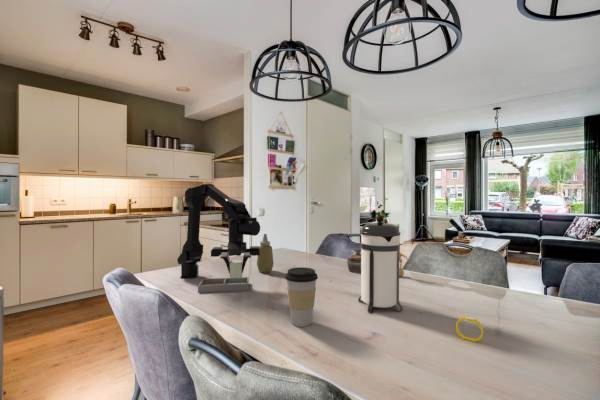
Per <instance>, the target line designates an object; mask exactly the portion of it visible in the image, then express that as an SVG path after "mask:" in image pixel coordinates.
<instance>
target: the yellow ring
mask: <svg viewBox="0 0 600 400" xmlns="http://www.w3.org/2000/svg"><path fill="white" fill-rule="evenodd" d="M462 321H467V322H469V323H470V322H471V323H475V324H476V325H478V328H479V329H480V335H479V337H475V338H473V337H469V336H465V335H464V334H463V333H462V332H461V330H460V328H459V323H460V322H462ZM455 330H456V333H457V335H458V336H459V337H460V338H461V339H463V340H466V341H469V342H472V343H473V342H474V343H477V342H479V341H481V339H482V338H483V336H484V327H483V326H482V323H481V322H480V321H479V320H477V318H476V317H475V316H474V315H472V314H464V315H463V316H462V317H460V318H459V319H458V320H457V321H456V324H455Z"/></svg>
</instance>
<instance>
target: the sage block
mask: <svg viewBox="0 0 600 400" xmlns="http://www.w3.org/2000/svg"><path fill="white" fill-rule="evenodd" d="M242 263H243V259H241V260H240V259H239V260H234V259H233V260H230V273H229V278H242V277H243V273H242Z"/></svg>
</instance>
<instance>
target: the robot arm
mask: <svg viewBox="0 0 600 400" xmlns="http://www.w3.org/2000/svg"><path fill="white" fill-rule="evenodd" d="M184 192H185V193H184V200H185V203H186V206H187V207H188V215H187V235H186V238H187V239H186V241H185V242H184V244H183V246H182V248H181V249H182V250H181V253H180V254H179V256H178V258H177V264H178V265H180V266H181V269H180V270H181V271H180V272H181V273H180V276H179V277H180V279H191V278H194V279H195V278H197V276H198V275H199V272H200V271H199V264H198V262H201V260H202V256H203V254H204V244H203V243H202V242H201V241H200V228H201V226H200V225H201V212H202V210H201V209H202V207H203V205H204V204H205V202H206V198H208V197H209V198H210V199H212V201H215V203H217V204H218V205H219V206H221V208H222V211H223V212H224V213H225V215H226V216H227V218H225V220H224V222H225V223H228V243H227V248H224V247H223V246H214V247H213V248H212V249H211V250H210V257H214V258H215V257H217V258H218V257H219V258H220V259H221V260H222V259H223V261H224V262H225V266H226V268H227V270H228V273H229V274H230V261H231V258H230V257H232V256H233V257H234V256H237V257H240V256H241V255H242V254H243V256H242V274H243V273H244V270H245V267H246V264H247V261H248V259H249V258H251V257H252V256H257V257H258V255H260V247H259V246H260V245H258V246H257V245H253V246H249V248H247V241H244V236H245V235H247V236H257V235H259V234H260V231H261V225H260V223H259V221H258V219H257V217H252V216H251V214H250V213H249V211H248V209H247V207H246V204H245V203H244V202H243V201H241V200H238V199H235V198H232V197H230V196H228V195H227V194H226V193H224V192H223V191H221V190H220V189H219V188H217V186H215V184H213V183H203V184H200V185H198V186H194V187H189V188H186V190H185V191H184Z"/></svg>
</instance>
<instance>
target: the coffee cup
mask: <svg viewBox="0 0 600 400" xmlns="http://www.w3.org/2000/svg"><path fill="white" fill-rule="evenodd" d="M284 278H285V280H286V281H287V282H286V283H287V289H286V290H287V297H288V306H289V312H290V313H289V314H290V321H291V324H292V325H293V326H295V327H300V328H301V327H302V328H303V327H308V326H310V325H312V323H313V322H312V321H313V312H314V307H315V299H316V285H317V284H316V283H317V282H316V281H317V280H318V279H319V278H318V274H317V273H316V270H315V269H314V268H310V267H292V268H289V269H288V270H287V273H285V276H284Z"/></svg>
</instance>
